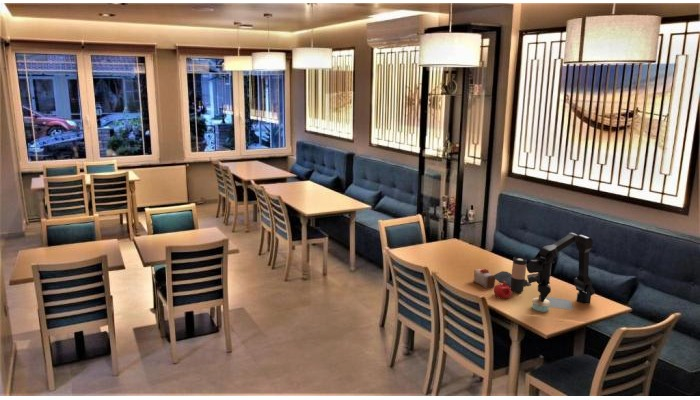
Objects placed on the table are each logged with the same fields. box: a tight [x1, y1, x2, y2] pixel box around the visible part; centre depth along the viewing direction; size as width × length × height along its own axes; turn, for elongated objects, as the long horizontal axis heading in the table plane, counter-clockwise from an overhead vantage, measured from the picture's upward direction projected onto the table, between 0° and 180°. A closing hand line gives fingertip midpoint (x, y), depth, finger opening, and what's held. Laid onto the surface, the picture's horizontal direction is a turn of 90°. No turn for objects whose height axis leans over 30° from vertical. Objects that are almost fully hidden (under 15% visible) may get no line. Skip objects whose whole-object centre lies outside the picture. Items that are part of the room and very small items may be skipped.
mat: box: [545, 296, 574, 311], centre depth 286 cm, size 13×14×1 cm
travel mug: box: [510, 256, 528, 294], centre depth 301 cm, size 8×8×20 cm
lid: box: [531, 294, 550, 306], centre depth 277 cm, size 9×9×4 cm
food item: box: [473, 268, 496, 290], centre depth 310 cm, size 14×8×10 cm, turn 27°
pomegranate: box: [493, 281, 513, 300], centre depth 293 cm, size 10×10×9 cm
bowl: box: [531, 303, 550, 313], centre depth 278 cm, size 8×8×4 cm
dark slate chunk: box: [494, 270, 532, 289], centre depth 317 cm, size 15×22×5 cm
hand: (541, 298), depth 277 cm, fingers open, 9 cm apart
